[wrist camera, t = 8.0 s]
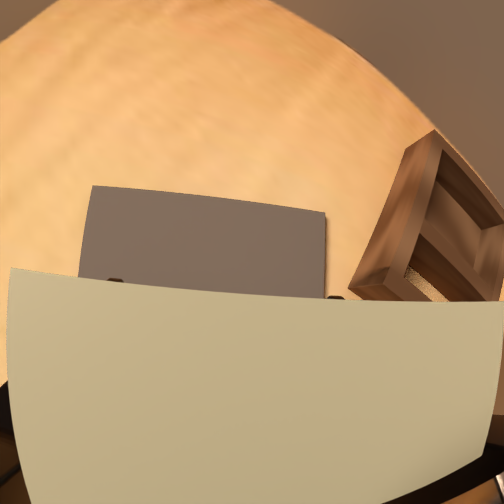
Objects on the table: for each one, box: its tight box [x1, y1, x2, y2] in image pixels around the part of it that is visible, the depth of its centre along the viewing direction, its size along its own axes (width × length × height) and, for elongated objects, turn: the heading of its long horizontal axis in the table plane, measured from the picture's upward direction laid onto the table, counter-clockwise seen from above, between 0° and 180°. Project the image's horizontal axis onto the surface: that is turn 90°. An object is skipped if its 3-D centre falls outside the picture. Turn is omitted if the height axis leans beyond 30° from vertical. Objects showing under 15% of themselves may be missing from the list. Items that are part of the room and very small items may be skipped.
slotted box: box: [348, 129, 504, 302], centre depth 21 cm, size 14×12×4 cm
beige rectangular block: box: [6, 268, 504, 504], centre depth 9 cm, size 2×6×13 cm, turn 86°
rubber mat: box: [78, 186, 325, 299], centre depth 18 cm, size 15×15×1 cm
